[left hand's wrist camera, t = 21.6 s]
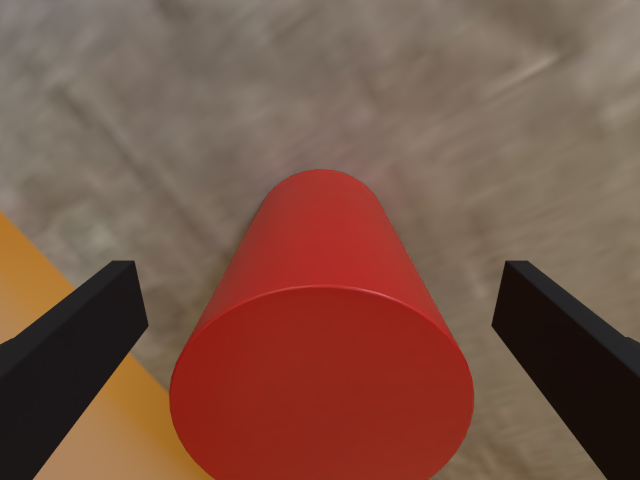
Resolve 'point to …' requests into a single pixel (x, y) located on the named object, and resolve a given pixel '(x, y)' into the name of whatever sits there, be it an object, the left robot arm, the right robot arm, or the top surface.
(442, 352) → the tin
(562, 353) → the left robot arm
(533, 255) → the top surface
